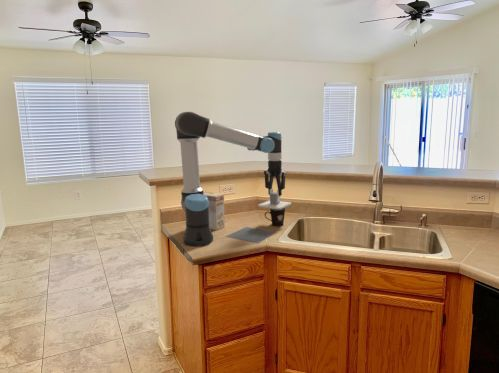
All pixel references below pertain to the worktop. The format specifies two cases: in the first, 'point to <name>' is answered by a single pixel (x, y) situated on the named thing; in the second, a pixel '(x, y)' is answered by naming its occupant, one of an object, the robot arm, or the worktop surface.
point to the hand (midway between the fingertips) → (275, 200)
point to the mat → (251, 234)
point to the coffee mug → (277, 216)
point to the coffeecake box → (216, 210)
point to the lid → (274, 203)
